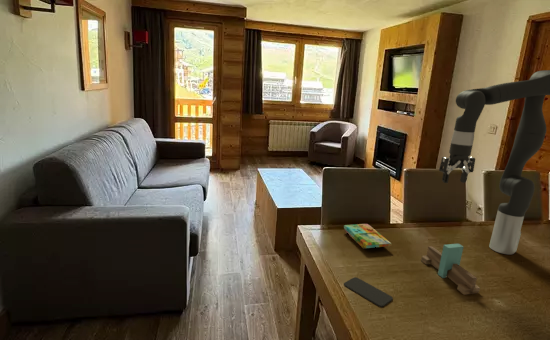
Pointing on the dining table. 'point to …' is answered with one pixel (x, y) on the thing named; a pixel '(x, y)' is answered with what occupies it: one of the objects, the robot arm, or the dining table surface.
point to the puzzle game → (366, 236)
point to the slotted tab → (449, 258)
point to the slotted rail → (453, 272)
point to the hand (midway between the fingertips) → (454, 182)
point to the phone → (368, 292)
